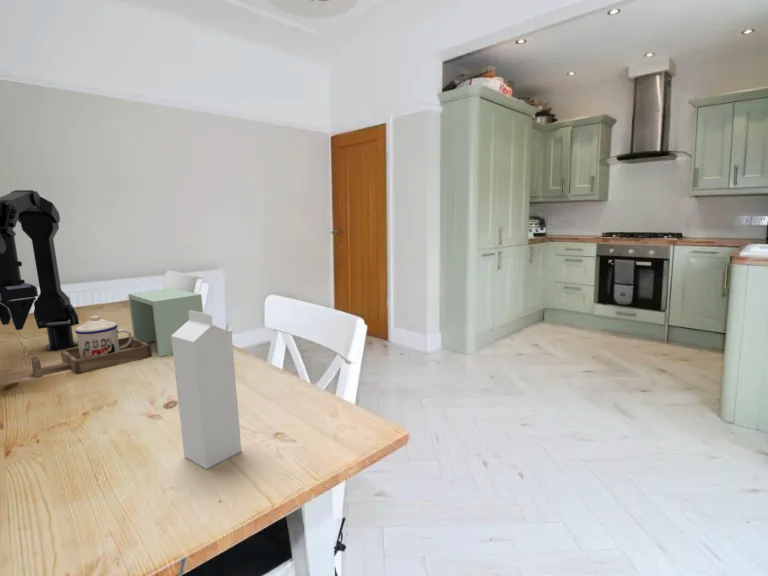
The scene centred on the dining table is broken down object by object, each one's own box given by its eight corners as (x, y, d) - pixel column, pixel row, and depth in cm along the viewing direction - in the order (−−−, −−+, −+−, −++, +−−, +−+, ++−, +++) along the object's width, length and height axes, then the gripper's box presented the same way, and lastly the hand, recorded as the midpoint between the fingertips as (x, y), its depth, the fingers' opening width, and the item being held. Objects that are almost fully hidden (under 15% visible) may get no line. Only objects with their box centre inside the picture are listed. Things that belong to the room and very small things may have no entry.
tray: (29, 368, 107) (26, 353, 106) (133, 346, 124) (131, 332, 123) (41, 382, 97) (38, 365, 97) (151, 356, 114) (150, 341, 114)
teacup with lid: (79, 368, 106) (72, 322, 104) (80, 359, 114) (74, 315, 112) (135, 359, 112) (130, 315, 111) (132, 350, 120) (127, 309, 118)
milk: (219, 440, 70) (207, 306, 67) (242, 451, 66) (231, 310, 63) (183, 457, 65) (168, 313, 62) (205, 470, 62) (191, 318, 58)
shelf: (134, 344, 126) (128, 293, 124) (177, 334, 135) (172, 288, 133) (159, 357, 113) (153, 301, 111) (206, 346, 122) (201, 294, 120)
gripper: (-61, 259, 94) (-48, 329, 97) (-38, 263, 83) (-24, 342, 86) (5, 255, 103) (15, 319, 105) (33, 258, 92) (44, 329, 95)
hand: (12, 327), depth 98 cm, fingers open, 9 cm apart
